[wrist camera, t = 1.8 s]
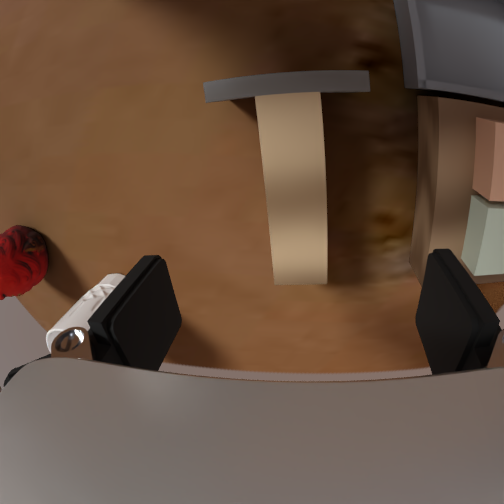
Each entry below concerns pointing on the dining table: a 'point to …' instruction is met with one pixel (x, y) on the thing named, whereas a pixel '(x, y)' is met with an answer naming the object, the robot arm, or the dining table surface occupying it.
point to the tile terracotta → (489, 159)
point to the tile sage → (484, 237)
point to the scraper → (293, 161)
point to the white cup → (85, 307)
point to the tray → (453, 46)
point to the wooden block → (446, 178)
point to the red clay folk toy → (21, 260)
